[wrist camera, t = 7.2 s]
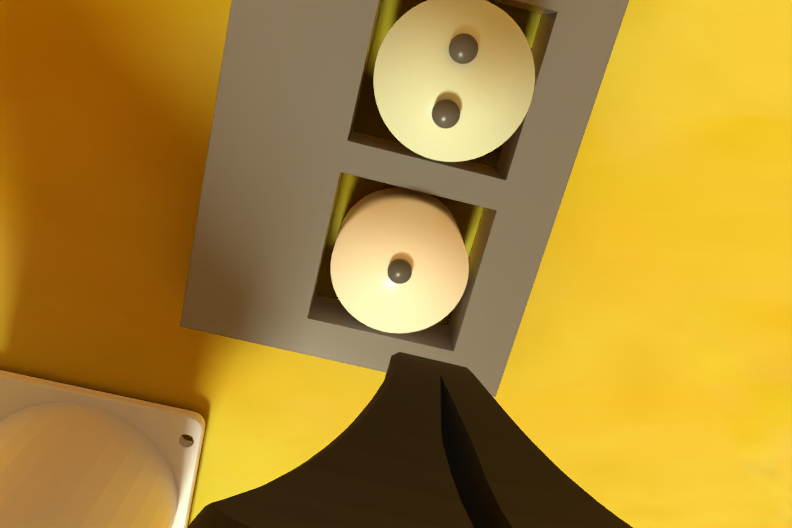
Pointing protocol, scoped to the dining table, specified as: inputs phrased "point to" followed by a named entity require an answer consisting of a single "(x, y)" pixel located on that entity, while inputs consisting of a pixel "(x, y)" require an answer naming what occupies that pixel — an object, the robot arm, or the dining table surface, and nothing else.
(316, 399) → the dining table surface
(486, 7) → the button two
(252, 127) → the button panel
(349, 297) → the button one
